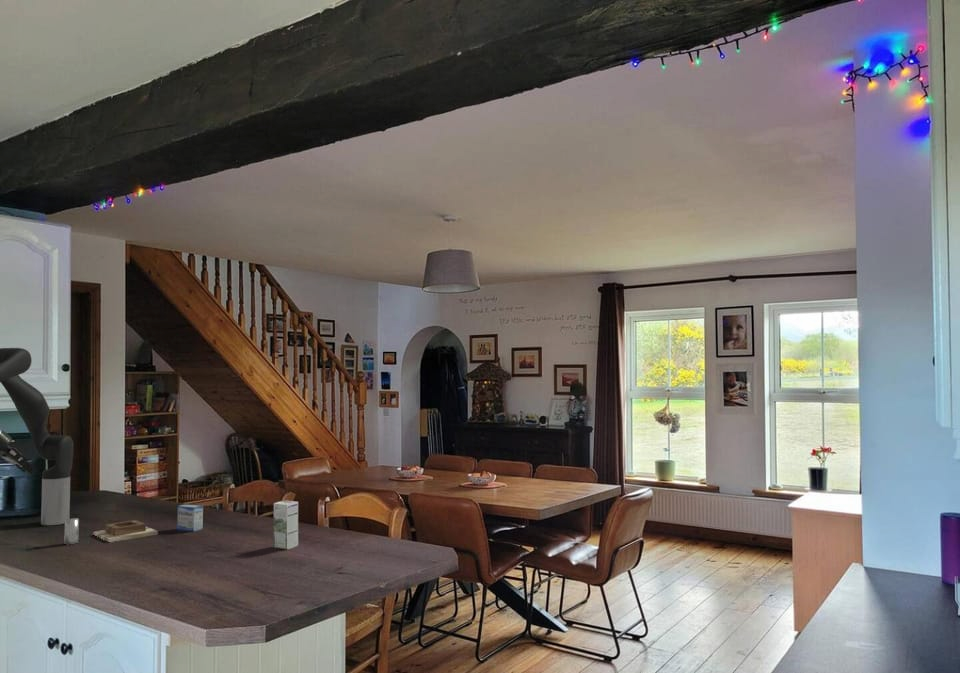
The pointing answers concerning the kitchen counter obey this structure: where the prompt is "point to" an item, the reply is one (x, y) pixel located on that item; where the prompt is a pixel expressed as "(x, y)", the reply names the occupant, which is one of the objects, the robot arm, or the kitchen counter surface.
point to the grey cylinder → (71, 531)
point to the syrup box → (285, 524)
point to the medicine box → (190, 518)
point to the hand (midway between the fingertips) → (30, 471)
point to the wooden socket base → (124, 531)
